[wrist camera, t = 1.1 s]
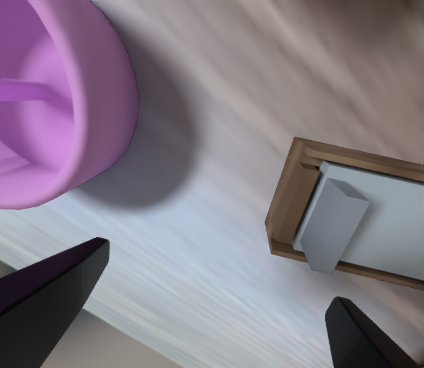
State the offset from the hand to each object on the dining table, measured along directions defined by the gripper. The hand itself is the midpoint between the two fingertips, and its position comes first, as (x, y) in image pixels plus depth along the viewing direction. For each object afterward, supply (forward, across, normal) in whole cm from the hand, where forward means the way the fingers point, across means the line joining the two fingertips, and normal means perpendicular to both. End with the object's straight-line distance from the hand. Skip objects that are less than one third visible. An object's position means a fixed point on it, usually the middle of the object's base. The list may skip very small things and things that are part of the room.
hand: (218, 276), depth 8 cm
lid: (+9, -11, 0) cm, 14 cm away
